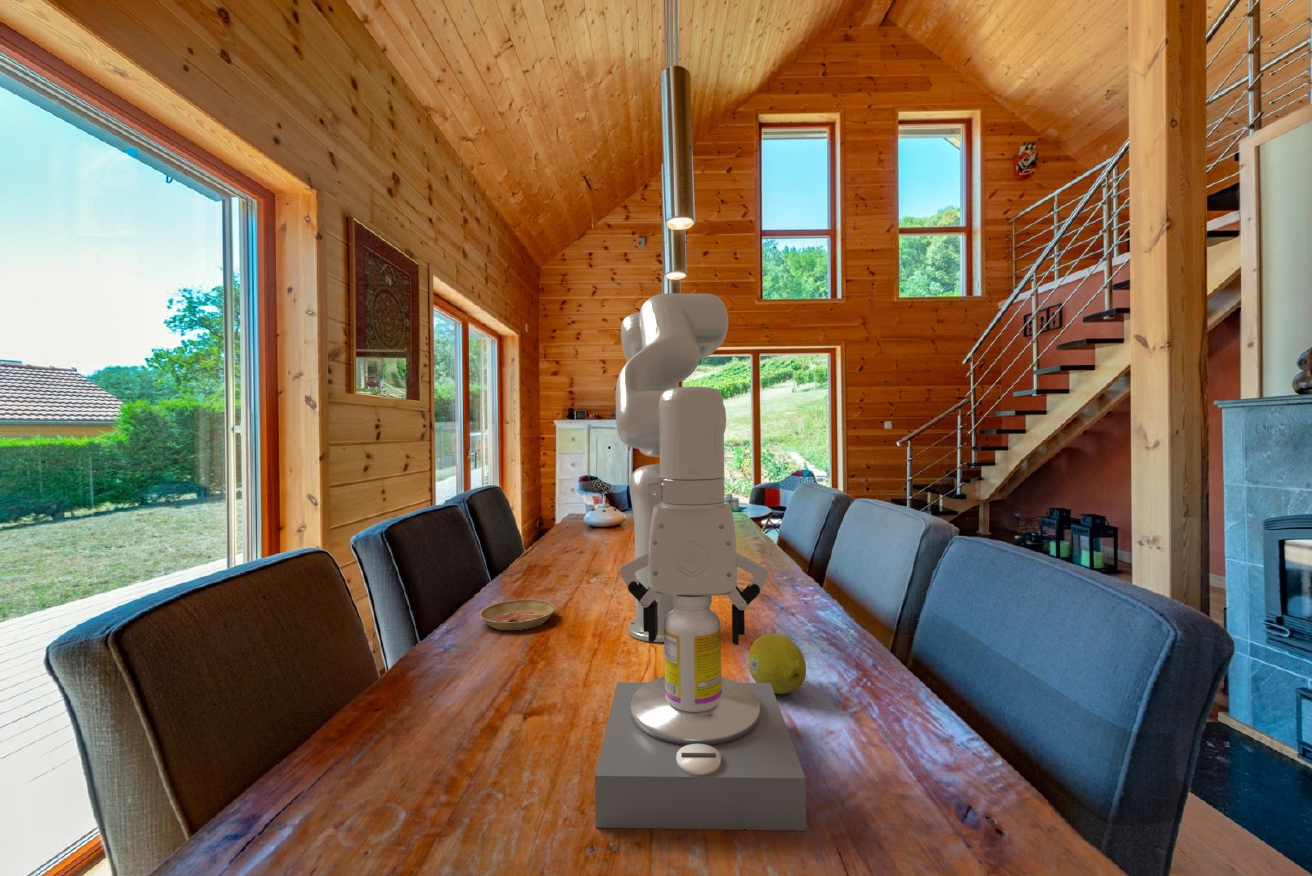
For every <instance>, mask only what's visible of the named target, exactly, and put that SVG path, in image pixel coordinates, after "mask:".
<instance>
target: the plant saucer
mask: <svg viewBox="0 0 1312 876" xmlns="http://www.w3.org/2000/svg"><path fill="white" fill-rule="evenodd" d="M523 611H524V612H534V613H535V614H534V613H532V614H526V615H544V616H542V617H539V618H534V619H533V618H532V619H529V620H528V619H527V620H526V621H519V622H496V621H491V619H492V618H494V617H496V616H498V615H507V614H510V613H514V612H523ZM554 611H556V605H555V604H553V603H552V602H550V601H547V600H544V599H543V600H542V599H534V598H533V599H513V600H507V601H500V602H498V603H495V604H490V605H489V606H487V607H485V608H484V609H482V610H481V611H480V612H479V616H480V619H482V621H483V622H485V624H487V625H488V626H489V627H491V628H492V627H493V628H492V629H494V628H495V629H494V630H497V629H500V630H499V631H501V630H520V631H522V630H521V629H526V630H529V629H528V628H531V629H533V628H532V627H534V628H537V627H540V626H541V625H543V624H544V623H546V621H547V620H548V619H549V618H550V617H551V616H552V615H553V613H554ZM514 615H515V614H514ZM524 615H525V614H524ZM503 621H505V620H503ZM506 621H507V620H506ZM508 621H509V620H508ZM536 626H537V627H536Z"/></svg>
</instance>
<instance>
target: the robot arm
mask: <svg viewBox="0 0 1312 876" xmlns="http://www.w3.org/2000/svg"><path fill="white" fill-rule="evenodd" d="M728 330H729V315H728V310H727V307H726V306H725V303H724V302H723V301H722V299H721V298H720V297H718V296H717V295H715V294H713V293H682V292H681V293H675V292H674V293H673V292H671V293H670V292H667V293H660V294H658V293H657V294H656V295H653V296H651V297H649V298H648V299H647V300H645V302H644V303H643V304H642V306H641V308H640V311H638V312H635V313H631V314H629V315H627V316H626V317H624V319H623V320H622V322H621V326H620V339H621V346H622V347H621V348H622V351H623V355H624V358H625V359H624V360H625V362H626V363H625V365H624V366H623V367H622V369H621V371H620V372H619V375H618V377H617V381H616V386H615V418H616V419H615V423H616V429H617V433H618V437H619V438H620V441H622V443H623V444H624V445H625V446H627V447H628V448H630V449H631V448H632V449H638V450H639V452H640V453H641V454H642V455H644V456H647V457H653V458H659V464H657V463H655V464H647V465H646V464H645V465H643V466H640V467H638V468H637V469H634V471H633V472H632V473H631V476H630V478H629V495H630V501H631V502H630V503H631V507H632V515H633V525H634V527H633V529H634V555H635V558H634V559H633V560H630V561H628V562H626V563H625V564H623V565H622V566H621V567H620V569H619V574H620V576H621V577H622V579H623V581H624V583H625V585H626V587H627V590H628V592H629V593H630V594H631V595H632V596H633V597H634V598H635V618H634V619H632V620H630V622H629V623H628V624H627V632H628V634H629V635H630V636H631V637H633V638H634V639H636V640H640V641H645V642H649V643H664V619H665V617H666V615H667V614H668V613H669V612H670V611H672V610H674V606H673V603H672V601H671V600H672V595H709V596H712V597H713V596H717V597H718V596H727V597H728V598H729V600H730V602H732V604H731V635H732V637H731V638H732V645H734V646H739V643H740V642H739V639H740V638H739V636H745V632H746V631H745V627H746V626H745V625H746V624H745V610H746V609H747V607H748V605H750V604H751V603H752V602H753V601H754V600H755V599H756V598H757V597H758V596H759V595H760V593H761V590H762V589H763V587H764V585H765V583H766V581H767V580H768V578H769V574H770V572H769V570H768V568H767V567H765V566H764V565H761V564H760V563H758V562H756V561H755V560H753V559H750V558H749V557H747V556H745V555H742V554H741V553H739V552H737V535H736V527H735V521H734V520H735V519H734V514H733V510H732V506H731V505H730V504H729V503H725V496H726V495H725V432H726V427H727V413H726V412H727V411H726V407H725V405H724V397H723V395H722V393H721V391H720V390H718V389H716V388H713V387H707V386H680V384H679V383H681V382H682V381H684V380H686V379H687V378H689V377H690V376H692V374H693V373H694V372H695V371H696V370H697V368H698V365H699V363H700V359H701V358H707V357H709V356H711V355H712V354H713V353H714V352H715V351H717V350H718V349H719V348H720V346H721V345H723V343H724V341H725V340H726V338H727V333H728ZM738 568H740V569H741V570H743V571H745V572H747V573H749V574H751V575H752V576H753V578H752V580H751V582H750V583H749V584H748V585H747V586H746V587H745V588H744V589H743V590H741V588H740V587H739V586H738Z"/></svg>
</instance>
